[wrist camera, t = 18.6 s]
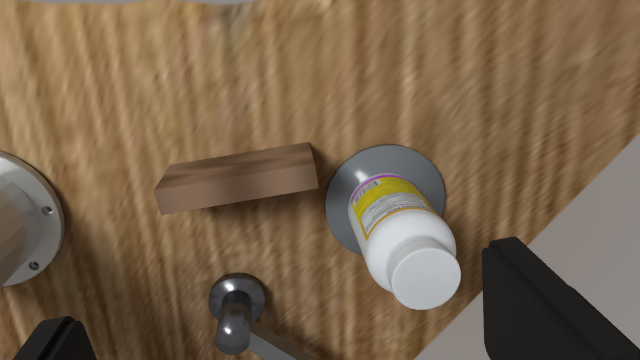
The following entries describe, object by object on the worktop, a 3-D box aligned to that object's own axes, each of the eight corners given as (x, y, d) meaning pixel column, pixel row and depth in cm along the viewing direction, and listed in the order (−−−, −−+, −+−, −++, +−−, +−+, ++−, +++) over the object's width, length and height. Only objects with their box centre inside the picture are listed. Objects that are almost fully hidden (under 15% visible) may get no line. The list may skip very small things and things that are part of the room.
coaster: (333, 264, 45) (334, 267, 45) (316, 155, 41) (317, 157, 41) (445, 244, 46) (447, 247, 45) (439, 134, 42) (441, 136, 41)
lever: (198, 301, 45) (186, 352, 38) (231, 263, 44) (224, 308, 37) (342, 388, 50) (353, 446, 43) (375, 355, 49) (391, 409, 42)
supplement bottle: (412, 239, 44) (465, 324, 32) (343, 236, 44) (370, 323, 32) (424, 171, 42) (485, 236, 30) (350, 168, 41) (383, 233, 29)
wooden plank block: (175, 186, 41) (160, 215, 35) (170, 165, 40) (153, 190, 35) (312, 163, 42) (318, 188, 36) (308, 142, 41) (314, 163, 35)
